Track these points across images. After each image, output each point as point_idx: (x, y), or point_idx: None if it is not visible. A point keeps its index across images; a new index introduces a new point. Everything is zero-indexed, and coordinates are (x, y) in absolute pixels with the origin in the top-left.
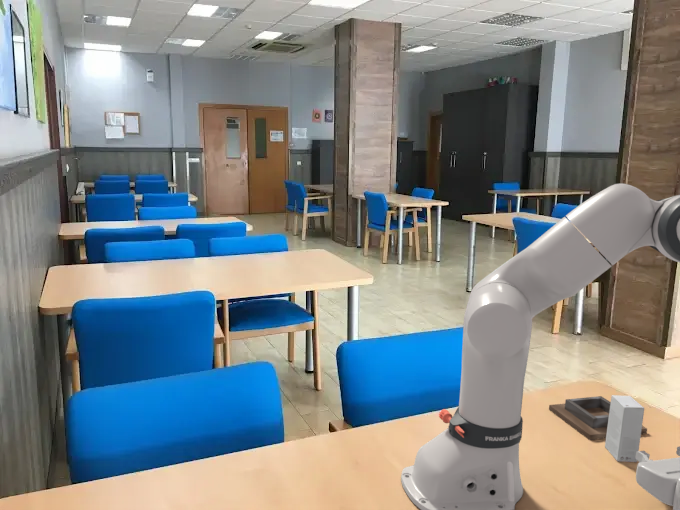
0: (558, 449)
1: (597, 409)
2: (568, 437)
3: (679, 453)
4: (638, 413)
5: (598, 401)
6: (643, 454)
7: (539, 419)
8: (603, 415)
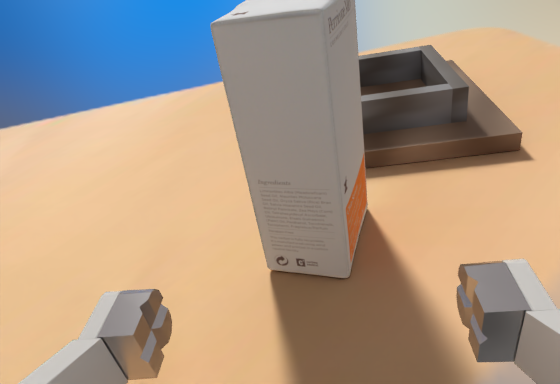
0: (143, 210)
1: (407, 84)
2: (231, 169)
3: (467, 312)
4: (293, 50)
5: (415, 60)
6: (91, 329)
7: (231, 121)
8: (361, 96)
